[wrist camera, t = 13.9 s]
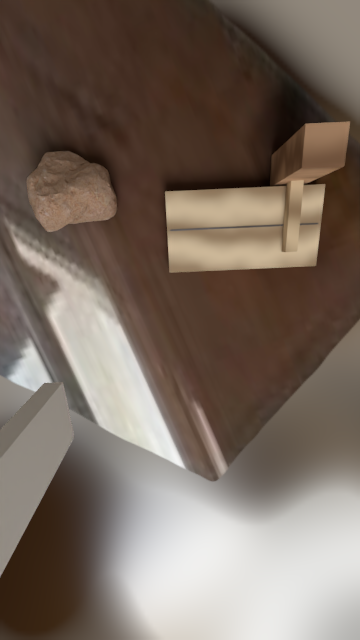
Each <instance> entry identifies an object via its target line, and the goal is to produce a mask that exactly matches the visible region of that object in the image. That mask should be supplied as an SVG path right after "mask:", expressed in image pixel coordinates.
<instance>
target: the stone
mask: <svg viewBox="0 0 360 640" xmlns="http://www.w3.org/2000/svg"><path fill="white" fill-rule="evenodd" d="M27 191H28V197H29V202H30V204H31V205H32V208H33V211H34V213H35V216H36V218H37V219H38V220H39V222H40V223H41V225H42V226H43V227H44V228H45V230H46V231H48V232H52V231H57V230H58V229H61V228H62V227H64V226H65V225H67V224H76V223H81V222H90V221H100V220H108V219H110V218H111V217H113V216H114V215H115V214H116V211H117V200H116V195H115V193H114V190H113V187H112V185H111V181H110V176H109V172H108V170H107V169H106V168H105V167H103V166H101V165H99V164H96V163H89V162H88V161H86V160H84V159H83V158H81V157H80V156H79V155H77V154H74V153H72V152H70V151H55V152H46V153H45V154H44V155H43V157H42V159H41V162H40V164H38V167H37V169H36V170H34V171H33V172H32V173H31V174H30V175H29V176H28V178H27Z"/></svg>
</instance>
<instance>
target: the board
mask: <svg viewBox="0 0 360 640" xmlns="http://www.w3.org/2000/svg"><path fill="white" fill-rule="evenodd" d="M286 187H287V186H274V187H252V188H230V189H209V190H187V191H165V199H166V217H167V235H168V253H169V271H170V273H171V272H193V271H215V270H236V269H258V268H280V267H302V266H316V260H317V252H318V243H319V234H320V226H321V217H322V209H323V200H324V191H325V184H317V185H303V195H302V206H301V217H300V228H299V238H298V249H297V252H282V241H283V227H284V214H285V200H286Z"/></svg>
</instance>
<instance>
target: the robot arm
mask: <svg viewBox="0 0 360 640" xmlns="http://www.w3.org/2000/svg"><path fill="white" fill-rule="evenodd" d="M73 439H74V433H73V428H72V423H71V419H70V414H69V409H68V404H67V399H66V395H65V390H64V385H63V382H59V383H44V384H43V385H42V386H41V387H40V388H39V389H38V390H37V391H36V392H35V394H34V395H33V396H32V397H31V398H30V399H29V400H28V401H27V402H26V403H25V404H24V405H23V406H22V407H21V408H20V409H19V410H18V411H17V412H16V414H15V415H14V416H13V417H12V418H11V419H10V420H9V421H8V422H7V423H6V424H5V425H4V426H3V427H2V428H1V429H0V576H1V574H2V572H3V571H4V568H5V567H6V565H7V563H8V561H9V559H10V557H11V555H12V553H13V552H14V550H15V548H16V546H17V544H18V542H19V540H20V538H21V537H22V535H23V533H24V531H25V529H26V527H27V525H28V523H29V521H30V520H31V518H32V516H33V514H34V512H35V510H36V508H37V506H38V504H39V502H40V501H41V499H42V497H43V495H44V493H45V491H46V489H47V487H48V486H49V484H50V482H51V480H52V478H53V476H54V474H55V472H56V471H57V469H58V467H59V465H60V463H61V461H62V459H63V457H64V455H65V454H66V452H67V450H68V448H69V445H70V444H71V442H72V440H73Z"/></svg>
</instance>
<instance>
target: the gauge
mask: <svg viewBox="0 0 360 640" xmlns="http://www.w3.org/2000/svg"><path fill="white" fill-rule="evenodd" d="M349 127H350V122H332V123H310V124H305V125H304V126H303V127H302V128H301V129H299V130H298V131H297V132H296V133H295V134H294V135H293V136H292V137H291V138H290V139H289V140H288V141H287V142H285V143H284V144H283V145H282V146H281V147H280V148H279V149H278V150H277V151H276V152H275V153H274V154H273V155H272V156H271V173H270V187H274V186H287V187H286V200H285V214H284V227H283V241H282V252H297V249H298V238H299V228H300V217H301V206H302V195H303V185H305V184H307V183H309V182H311V181H313V180H316V179H318V178H320V177H322V176H324V175H326V174H328V173H331V172H333V171H335V170H337V169H339V168H341V167H344V164H345V157H346V149H347V142H348V134H349Z"/></svg>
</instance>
